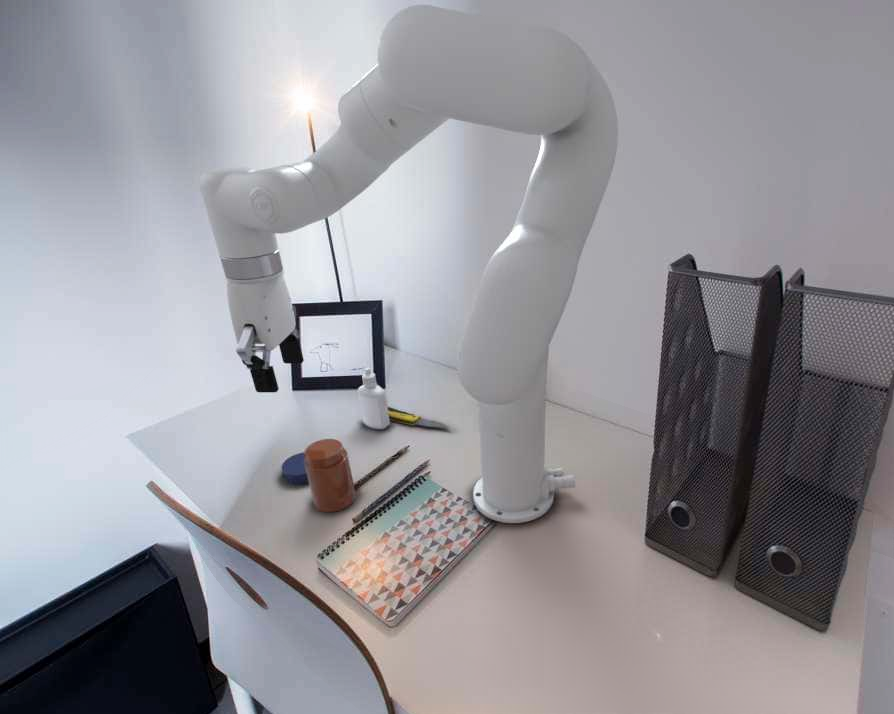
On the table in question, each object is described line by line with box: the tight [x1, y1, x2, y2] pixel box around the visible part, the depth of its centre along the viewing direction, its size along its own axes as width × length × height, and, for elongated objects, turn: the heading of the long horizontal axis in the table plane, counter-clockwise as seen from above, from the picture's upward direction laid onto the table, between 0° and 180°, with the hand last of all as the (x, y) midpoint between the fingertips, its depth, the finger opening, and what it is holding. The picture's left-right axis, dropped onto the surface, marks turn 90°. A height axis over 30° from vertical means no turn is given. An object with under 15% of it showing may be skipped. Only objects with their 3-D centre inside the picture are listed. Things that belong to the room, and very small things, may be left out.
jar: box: [303, 438, 357, 513], centre depth 81 cm, size 6×6×10 cm
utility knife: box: [387, 406, 451, 429], centre depth 103 cm, size 16×1×3 cm
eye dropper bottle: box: [357, 367, 391, 430], centre depth 100 cm, size 4×6×12 cm
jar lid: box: [281, 451, 309, 485], centre depth 90 cm, size 7×7×2 cm
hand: (281, 376), depth 81 cm, fingers open, 9 cm apart
